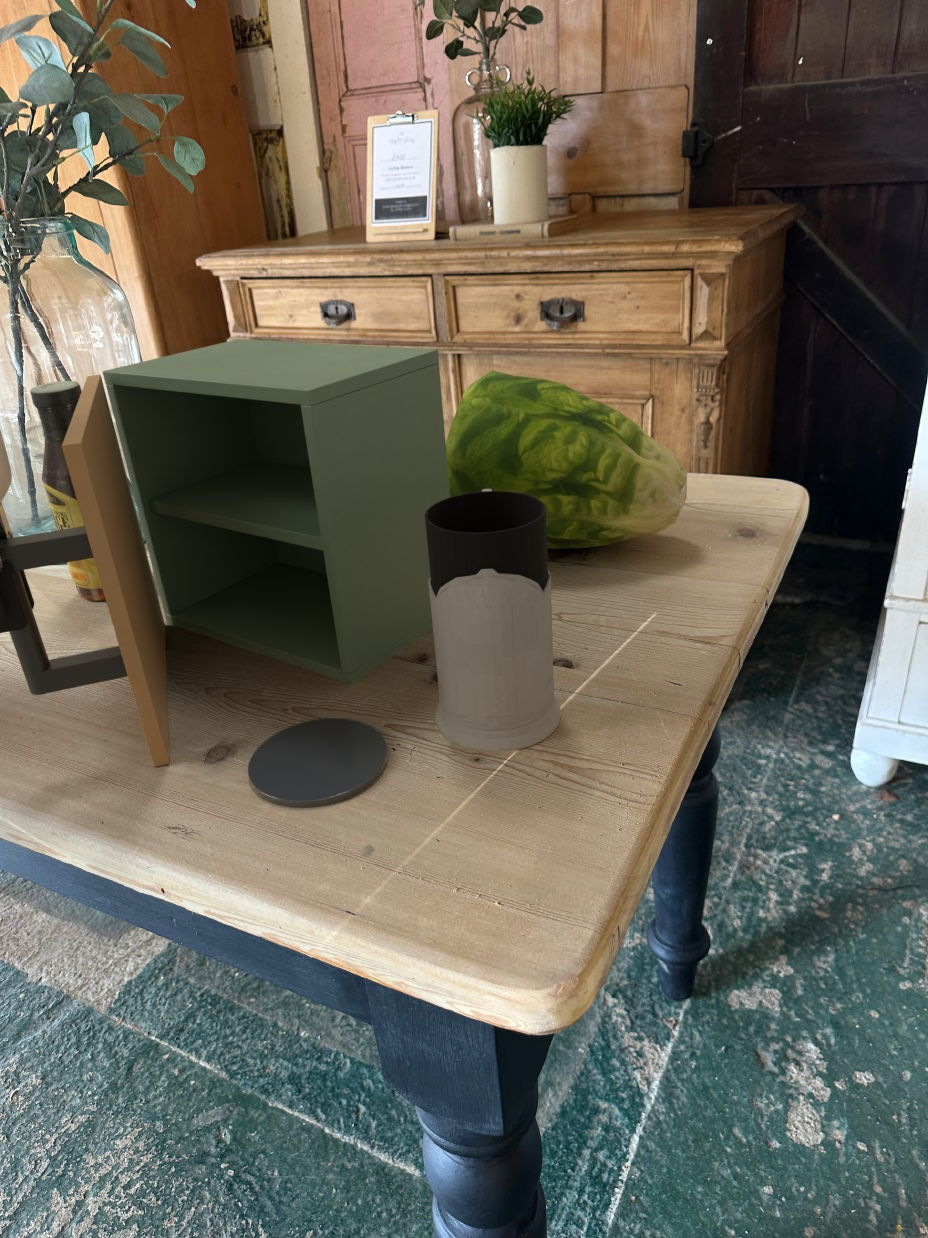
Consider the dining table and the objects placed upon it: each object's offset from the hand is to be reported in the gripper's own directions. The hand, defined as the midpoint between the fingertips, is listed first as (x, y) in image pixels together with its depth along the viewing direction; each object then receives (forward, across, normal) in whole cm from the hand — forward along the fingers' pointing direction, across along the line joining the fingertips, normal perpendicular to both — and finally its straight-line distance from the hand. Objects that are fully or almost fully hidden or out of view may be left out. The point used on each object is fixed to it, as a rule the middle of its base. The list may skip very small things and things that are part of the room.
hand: (4, 620), depth 53 cm
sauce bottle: (+11, -29, +2) cm, 32 cm away
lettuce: (+11, -22, +46) cm, 52 cm away
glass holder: (+11, +3, +30) cm, 33 cm away
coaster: (+11, +6, +17) cm, 21 cm away
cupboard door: (+11, -8, +4) cm, 14 cm away
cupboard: (+11, -16, +19) cm, 27 cm away
